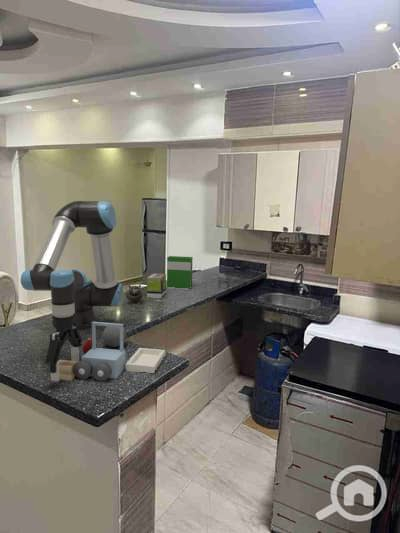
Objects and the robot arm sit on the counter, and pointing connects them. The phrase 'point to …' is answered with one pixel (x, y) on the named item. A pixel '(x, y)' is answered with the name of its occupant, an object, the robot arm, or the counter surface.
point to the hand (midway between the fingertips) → (65, 371)
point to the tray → (145, 360)
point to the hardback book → (179, 272)
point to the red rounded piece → (87, 346)
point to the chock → (67, 369)
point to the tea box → (156, 285)
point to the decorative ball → (113, 336)
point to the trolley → (102, 359)
